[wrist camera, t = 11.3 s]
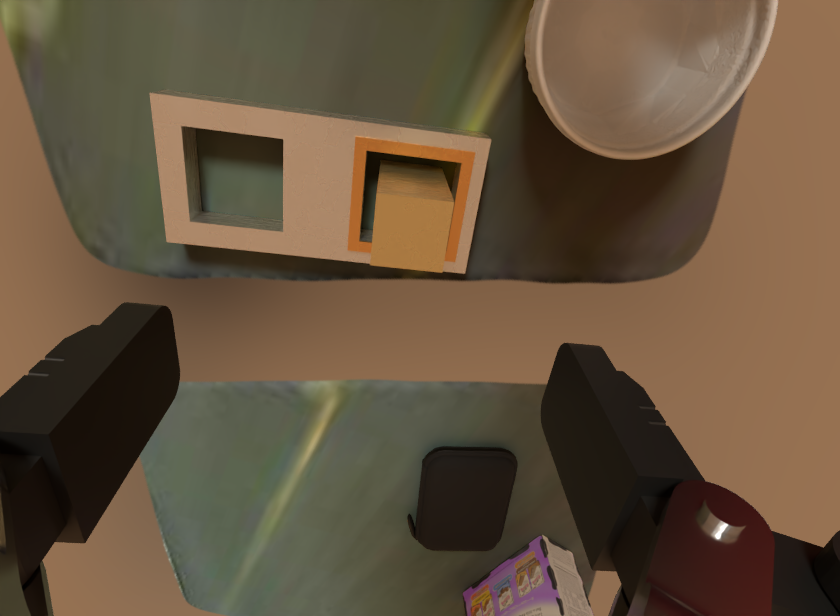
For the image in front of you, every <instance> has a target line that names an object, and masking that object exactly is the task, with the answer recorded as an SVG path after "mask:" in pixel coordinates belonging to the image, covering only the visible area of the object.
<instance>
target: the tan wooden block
mask: <svg viewBox="0 0 840 616" xmlns="http://www.w3.org/2000/svg"><path fill="white" fill-rule="evenodd" d="M453 207H454V200H453V197H452V194H451V192H450V189H449V186H448V183H447V181H446V178H445V175H444V172H443V170H442V167H437V166H429V165H421V164H414V163H406V162H398V161H390V160H382V159H381V162H380V170H379V178H378V186H377V195H376V205H375V216H374V227H373V238H372V248H371V259H370V265H373V266H383V267H392V268H402V269H411V270H421V271H430V272H440V273H442V272H443V266H444V260H445V254H446V248H447V242H448V237H449V231H450V225H451V219H452V213H453Z"/></svg>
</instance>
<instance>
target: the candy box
mask: <svg viewBox="0 0 840 616" xmlns="http://www.w3.org/2000/svg"><path fill="white" fill-rule="evenodd" d="M463 599H464V607H465V614H466V616H594V614H593V612H592V609H591V606H590V603H589V600H588V597H587V594H586V591H585V588H584V585H583V582H582V580H581V577H580V574H579V571H578V568H577V565H576V562H575V559H574V556H573V553H572V552H570V551H568V550H567V549H565V548H564V547H562V546H560V545H558V544H557V543H555V542H554V541H552V540H551V539H549V538H547V537H545V536H544V535H541V536H538V537H537V538H536V539H534V540H533V541H531V542H530V543H529V544H527V545H526V546H525V547H524V548H522V549H521V550H520V551H518V552H517V553H515V554H514V555H513V556H512V557H510V558H509V559H508V560H506V561H505V562H503V563H502V564H501V565H499V566H498V567H497V568H495V569H494V570H493V571H491V572H490V573H489V574H487V575H486V576H485V577H483V578H482V579H481V580H480V581H478V582H477V583H475V584H474V585H472V586H471V587H470V588H469V589H467V590H466V591H465V592H463Z"/></svg>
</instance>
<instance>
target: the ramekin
mask: <svg viewBox="0 0 840 616" xmlns="http://www.w3.org/2000/svg"><path fill="white" fill-rule="evenodd" d="M777 7H778V0H534V4H533V7H532V9H531V11H530V14H529V21H528V23H527V26H526V36H525V52H524V54H525V58H526V68H527V70H528V78H529V81H530V82H531V84H532V89H533V92H534V93H535V94H536V96H537V97H538V100H539V102H540V104H541V105H542V106H543V108H544V110H545V112H546V114H547V115H548V117H549V118H550V120H551V121H552V122H553V124H554V125H555V126H556V127H557V128H558V130H559V131H560V132H561V133H562V134H563V135H565V136H566V137H567V138H568V139H570V140H571V141H572V142H574V143H575V144H577V145H579V146H580V147H582V148H584V149H586V150H588V151H590V152H593V153H595V154H598V155H601V156H605V157H609V158H614V159H623V160H637V159H646V158H651V157H656V156H659V155H662V154H665V153H668V152H671V151H673V150H676V149H678V148H680V147H682V146H684V145H686V144H688V143H689V142H691V141H692V140H694V139H696V138H697V137H699V136H700V135H702V134H703V133H704V132H705V131H707V130H708V129H709V128H711V127H712V126H713V125H714V124H715V123H717V122H718V121H719V120H720V119H721V118H722V117H723V116H724V115H725V114H726V113H727V112H728V111H729V110H730V109H731V108H732V106H733V105H734V104H735V103H736V102H737V100H738V99H739V98H740V97H741V95H742V94H743V92H744V91H745V89H746V88H747V87H748V85H749V83H750V82H751V80H752V79H753V77H754V75H755V74H756V72H757V70H758V68H759V66H760V64H761V62H762V60H763V58H764V55H765V53H766V50H767V48H768V45H769V42H770V39H771V35H772V32H773V28H774V24H775V20H776V13H777Z"/></svg>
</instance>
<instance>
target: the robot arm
mask: <svg viewBox="0 0 840 616" xmlns="http://www.w3.org/2000/svg"><path fill="white" fill-rule="evenodd" d="M179 380H180V367H179V360H178V353H177V346H176V339H175V332H174V325H173V318H172V314H171V311H170V309H169V308H168V307H167V306H162V305H151V304H139V303H128V302H127V303H123V304H121V305H120V306H119V307H118V308H117V309H116V310H115V311H114V312H113V313H112V314H111V315H109V317H107V318H106V319H105V320H104V321H103V322H102V324H100V325H91V326H89V327H87V328H85V329H83V330H81V331H79V332H77V333H75V334H73V335H71V336H69V337H67V338H65V339H63V340H62V341H61V342H60V343H59V344H58V345H57V346H56V347H55V348H54V349H53V350H51V351H50V352H49V353H48V354H47V355H46V356H45V360H40V362H38V363H37V364H36V365H35V366H34V367H33V368H32V369H31V370H30V371H29V374H28V375H24V376H23V377H22V378H21V379H20V380H19V381H18V382H16V383H15V384H14V385H13V386H12V387H11V388H10V389H9V390H8V391H7V392H6V393H4V395H2V396H1V397H0V616H54V615H53V609H52V604H51V597H50V592H49V586H48V580H47V574H46V569H45V566H44V564H43V561H42V560H43V558H44V557H45V556H46V554H47V553H48V551H49V550H50V548H51V547H52V545H53V544H54V542H67V543H85V542H86V541H87V539H88V538H89V536H90V534H91V533H92V531H93V530H94V528H95V526H96V525H97V523H98V521H99V520H100V518H101V517H102V515H103V513H104V512H105V510H106V509H107V507H108V505H109V504H110V502H111V500H112V499H113V497H114V495H115V494H116V492H117V491H118V489H119V488H120V486H121V484H122V483H123V481H124V479H125V478H126V476H127V474H128V473H129V471H130V469H131V468H132V467H133V465H134V463H135V461H136V460H137V458H138V457H139V455H140V454H141V452H142V450H143V449H144V447H145V446H146V444H147V442H148V441H149V439H150V437H151V436H152V434H153V433H154V431H155V429H156V428H157V426H158V425H159V423H160V421H161V420H162V418H163V416H164V415H165V413H166V412H167V410H168V408H169V407H170V405H171V404H172V402H173V400H174V398H175V396H176V393H177V390H178V386H179ZM541 423H542V428H543V431H544V434H545V437H546V440H547V443H548V445H549V448H550V451H551V454H552V457H553V460H554V463H555V466H556V468H557V471H558V474H559V477H560V480H561V483H562V486H563V488H564V491H565V494H566V497H567V500H568V503H569V506H570V509H571V511H572V514H573V517H574V520H575V523H576V526H577V529H578V531H579V534H580V537H581V540H582V543H583V546H584V549H585V552H586V554H587V557H588V560H589V563H590V566H591V569H592V570H598V571H599V570H600V571H617V574H618V576H619V579H620V581H621V586H620V588H619V590H618V592H617V594H616V596H615V599H614V601H613V604H612V607H611V610H610V613H609V615H608V616H840V531H838V532H837V533H836V534H835V535H834V536H833V537H832V538H831V540H830V541H829V542H828V543H827V544H826V546H825V547H824V548H823V547H820V546H817V545H814V544H811V543H808V542H805V541H801V540H798V539H795V538H792V537H789V536H786V535H783V534H780V533H777V532H774V531H771V529H770V527H769V525H768V524H767V522H766V521H765V519H764V518H763V517H762V516H761V515H760V513H759V512H758V511H757V510H756V509H755V508H754V507H753V506H752V505H750V504H749V503H748V502H747V501H745V500H744V499H743V498H741V497H740V496H738V495H737V494H735V493H733V492H732V491H730V490H728V489H726V488H724V487H721V486H719V485H716V484H714V483H711V482H706V481H705V480H704V478H703V477H702V475H701V474H700V472H699V471H698V469H697V468H696V466H695V465H694V463H693V462H692V460H691V459H690V457H689V456H688V454H687V453H686V451H685V450H684V448H683V447H682V445H681V444H680V442H679V441H678V439H677V438H676V436H675V435H674V433H673V432H672V430H671V429H670V427H669V426H666V424H665V423H666V421H665V420H664V418H663V417H662V416H661V414H660V412H659V411H658V410H655V405H654V403H653V402H652V400H651V399H650V398H649V396H648V394H647V393H646V391H645V390H644V388H643V387H641V386H640V385H639V384H638V383H637V382H635V381H634V380H633V379H632V378H630V377H629V376H628V375H627V374H626V373H624V372H623V371H616V369H615V367H614V366H613V364H612V363H611V361H610V359H609V358H608V356H607V355H606V353H605V351H604V350H603V349H602V348H601V347H600V346H594V345H583V344H571V343H564V344H562V345H561V346H560V348H559V350H558V352H557V356H556V358H555V361H554V365H553V368H552V371H551V374H550V377H549V380H548V383H547V387H546V390H545V393H544V396H543V399H542V404H541Z"/></svg>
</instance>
